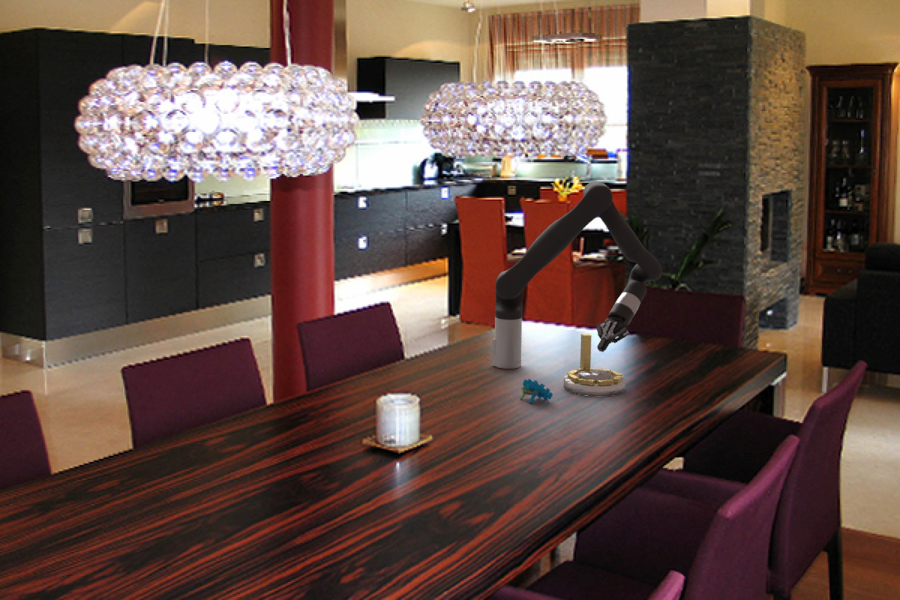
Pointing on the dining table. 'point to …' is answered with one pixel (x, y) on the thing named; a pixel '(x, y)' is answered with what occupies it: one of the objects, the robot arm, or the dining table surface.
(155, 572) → the dining table surface
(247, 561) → the dining table surface
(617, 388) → the grey round piece
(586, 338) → the peg on ring base
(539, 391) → the blue lobed toy
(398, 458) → the dining table surface
